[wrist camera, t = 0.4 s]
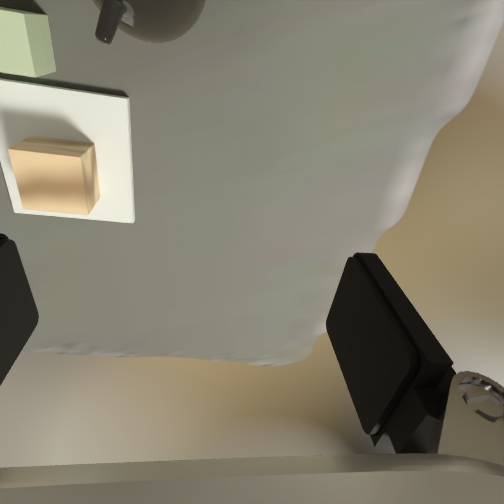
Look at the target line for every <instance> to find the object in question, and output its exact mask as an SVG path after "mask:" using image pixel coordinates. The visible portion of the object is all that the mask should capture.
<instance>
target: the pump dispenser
mask: <svg viewBox="0 0 504 504" xmlns="http://www.w3.org/2000/svg"><path fill="white" fill-rule="evenodd" d="M205 1H206V0H93V2H94V3H95V5H96V6H97V8H98V9H99V10H100V15H99V19H98V23H97V28H96V32H95V36H96V38H97V40H99V41H100V42H101V43H103V44H106V45H109V44H111V42H112V40H113V37H114V35H115V33H116V30H117V28H119V29H120V30H122V31H123V32H125V33H126V34H128V35H130V36H132V37H134V38H136V39H139V40H142V41H146V42H152V43H163V42H169V41H172V40H175V39H177V38H179V37H181V36H183V35H184V34H185V33H187V32H188V31H189V30H190V29H191V28H192V27H193V26H194V24H195V23H196V22H197V20H198V18H199V17H200V15H201V13H202V10H203V8H204V5H205Z"/></svg>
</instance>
